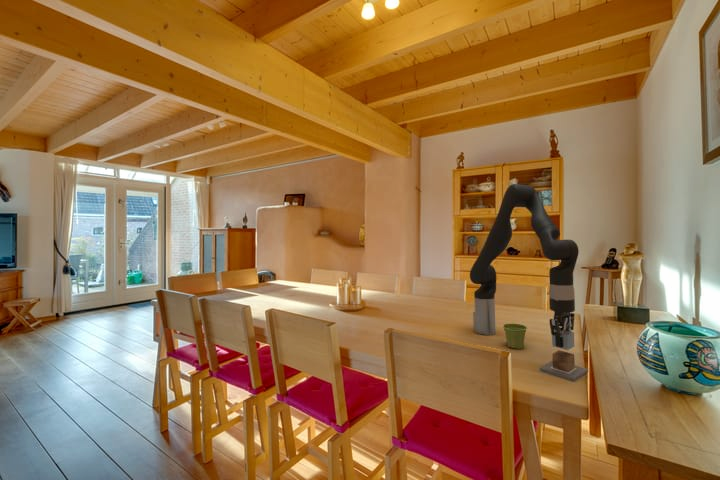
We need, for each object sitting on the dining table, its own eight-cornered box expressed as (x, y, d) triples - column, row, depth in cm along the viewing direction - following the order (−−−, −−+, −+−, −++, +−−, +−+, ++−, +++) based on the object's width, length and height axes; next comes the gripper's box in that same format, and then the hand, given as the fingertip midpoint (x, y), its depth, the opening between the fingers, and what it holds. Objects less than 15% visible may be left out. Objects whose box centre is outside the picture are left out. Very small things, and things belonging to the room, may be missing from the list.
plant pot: (514, 352, 131) (513, 331, 131) (498, 344, 140) (498, 324, 140) (533, 348, 134) (532, 328, 133) (516, 341, 143) (515, 322, 142)
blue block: (552, 346, 113) (551, 332, 112) (558, 342, 115) (558, 329, 115) (568, 350, 108) (567, 335, 108) (574, 346, 111) (573, 332, 111)
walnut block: (552, 367, 113) (552, 353, 113) (559, 363, 116) (558, 350, 116) (568, 372, 109) (567, 358, 109) (574, 368, 112) (574, 354, 111)
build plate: (539, 370, 114) (539, 367, 114) (554, 362, 120) (554, 359, 120) (574, 381, 105) (574, 378, 105) (588, 372, 111) (588, 368, 111)
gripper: (559, 292, 119) (560, 337, 119) (540, 298, 110) (541, 347, 111) (582, 295, 113) (583, 343, 113) (564, 301, 104) (565, 353, 105)
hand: (563, 344), depth 112 cm, fingers closed on blue block, 5 cm apart
